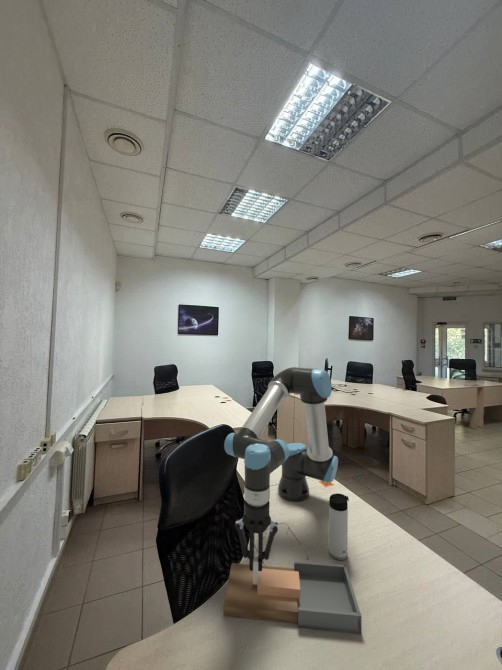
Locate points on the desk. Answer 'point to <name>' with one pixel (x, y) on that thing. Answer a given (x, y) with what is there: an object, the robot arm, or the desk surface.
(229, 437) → the robot arm
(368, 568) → the desk surface
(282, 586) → the tile
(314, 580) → the tray
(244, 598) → the wooden plank
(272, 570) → the tile
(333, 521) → the travel mug
